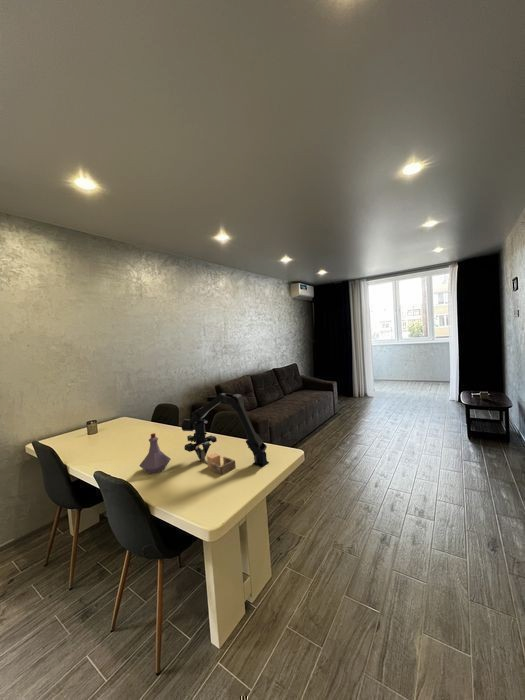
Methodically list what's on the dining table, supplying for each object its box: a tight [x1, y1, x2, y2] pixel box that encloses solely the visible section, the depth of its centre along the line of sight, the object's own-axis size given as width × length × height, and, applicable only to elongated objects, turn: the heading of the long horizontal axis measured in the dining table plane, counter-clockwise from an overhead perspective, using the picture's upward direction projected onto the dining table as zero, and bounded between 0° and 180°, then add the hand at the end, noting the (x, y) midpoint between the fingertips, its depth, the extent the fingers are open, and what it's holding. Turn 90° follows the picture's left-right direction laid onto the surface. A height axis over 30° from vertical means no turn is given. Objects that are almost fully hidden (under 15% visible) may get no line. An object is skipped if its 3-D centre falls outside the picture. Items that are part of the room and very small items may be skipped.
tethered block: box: [199, 448, 222, 469], centre depth 150 cm, size 16×5×6 cm, turn 44°
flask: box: [138, 432, 172, 475], centre depth 147 cm, size 16×16×20 cm
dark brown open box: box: [210, 456, 237, 476], centre depth 142 cm, size 9×10×4 cm
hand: (202, 457), depth 155 cm, fingers closed on tethered block, 3 cm apart
